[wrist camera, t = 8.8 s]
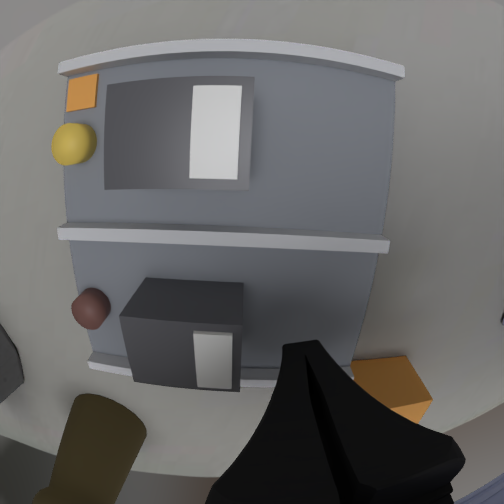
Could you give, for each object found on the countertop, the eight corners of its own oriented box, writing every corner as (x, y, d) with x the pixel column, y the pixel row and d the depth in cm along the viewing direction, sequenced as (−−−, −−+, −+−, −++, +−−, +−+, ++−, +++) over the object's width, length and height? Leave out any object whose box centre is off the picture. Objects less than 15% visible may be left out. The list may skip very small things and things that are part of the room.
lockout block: (405, 354, 15) (432, 399, 12) (385, 399, 17) (404, 442, 13) (346, 360, 15) (367, 412, 11) (331, 405, 17) (344, 454, 13)
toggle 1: (252, 96, 9) (254, 75, 6) (248, 179, 10) (248, 191, 7) (142, 99, 9) (104, 83, 6) (140, 177, 10) (101, 190, 7)
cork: (63, 385, 16) (1, 502, 6) (139, 404, 16) (95, 550, 6) (86, 432, 18) (46, 534, 8) (152, 449, 18) (127, 565, 8)
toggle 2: (243, 282, 12) (242, 328, 9) (241, 343, 13) (239, 395, 10) (145, 277, 11) (116, 318, 8) (153, 337, 12) (132, 384, 10)
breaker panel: (379, 77, 10) (407, 65, 8) (340, 355, 15) (352, 386, 13) (85, 72, 10) (56, 61, 7) (105, 342, 14) (88, 370, 12)
